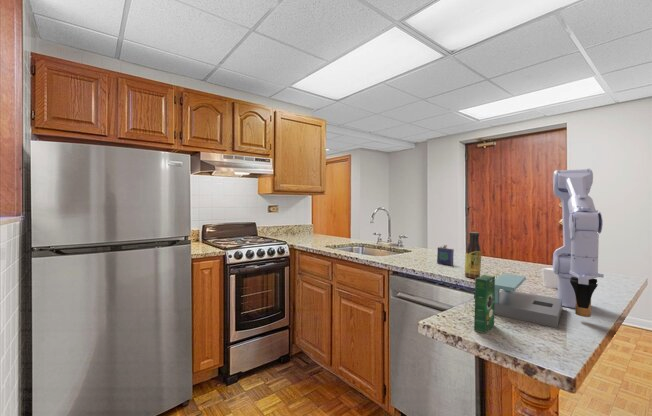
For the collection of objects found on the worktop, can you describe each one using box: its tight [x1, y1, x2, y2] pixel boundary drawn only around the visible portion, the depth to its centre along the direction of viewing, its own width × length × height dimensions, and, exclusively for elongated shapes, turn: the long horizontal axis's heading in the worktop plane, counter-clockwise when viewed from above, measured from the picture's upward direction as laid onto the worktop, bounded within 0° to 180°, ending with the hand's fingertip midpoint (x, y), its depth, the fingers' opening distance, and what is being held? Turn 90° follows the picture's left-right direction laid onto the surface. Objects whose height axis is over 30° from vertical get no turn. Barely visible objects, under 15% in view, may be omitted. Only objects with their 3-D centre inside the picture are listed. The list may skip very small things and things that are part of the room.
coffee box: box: [473, 274, 496, 334], centre depth 78 cm, size 8×3×13 cm, turn 137°
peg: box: [574, 300, 592, 318], centre depth 84 cm, size 3×3×8 cm
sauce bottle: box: [464, 231, 482, 279], centre depth 136 cm, size 6×6×20 cm
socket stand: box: [494, 273, 563, 328], centre depth 92 cm, size 20×16×8 cm
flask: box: [436, 244, 455, 267], centre depth 166 cm, size 9×3×11 cm, turn 37°
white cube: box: [541, 267, 558, 290], centre depth 122 cm, size 7×7×7 cm
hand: (583, 306), depth 84 cm, fingers closed on peg, 3 cm apart
